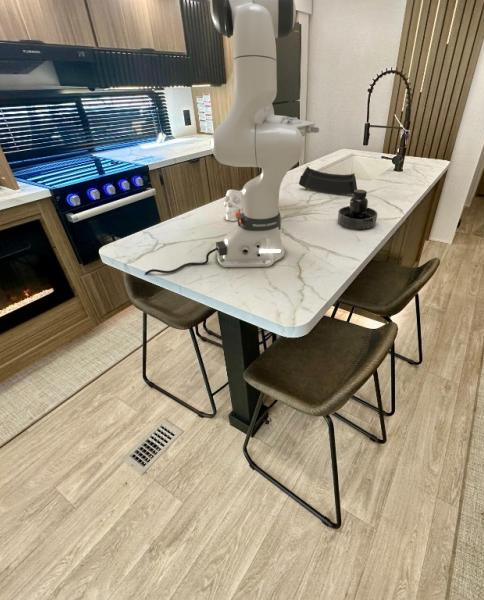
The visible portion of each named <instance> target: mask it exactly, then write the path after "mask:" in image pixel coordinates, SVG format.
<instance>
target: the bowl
mask: <svg viewBox="0 0 484 600" xmlns="http://www.w3.org/2000/svg"><path fill="white" fill-rule="evenodd" d="M349 207H350V205H347V206H343V207H341V208H339V209H338V212H337V222H338V223H339V225H341V226H343V227H346V228H350V229H355V230H361V229H363V230H364V229H371V228H373V227H374V226H375V225H376V224H377V219H378V215H379V214H378V212H377V210H375V209H373V208H372V207H368V206H367V212H366V218H365V219H354V218H349V217H348V216H349Z"/></svg>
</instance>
